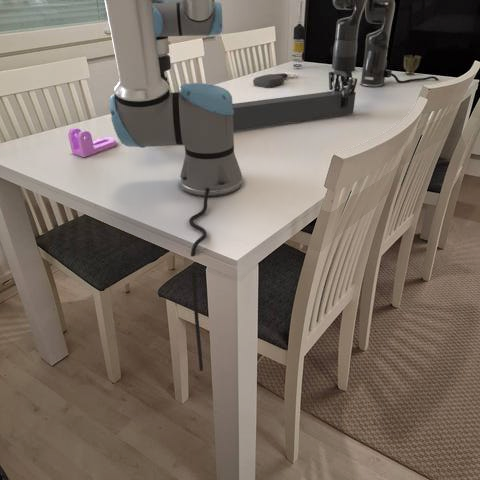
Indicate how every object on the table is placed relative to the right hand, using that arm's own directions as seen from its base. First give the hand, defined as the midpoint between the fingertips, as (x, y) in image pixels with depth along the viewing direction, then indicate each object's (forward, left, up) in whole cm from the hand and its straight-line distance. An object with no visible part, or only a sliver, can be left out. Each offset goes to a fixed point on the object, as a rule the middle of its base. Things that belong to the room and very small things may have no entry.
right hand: (339, 105), depth 156 cm
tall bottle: (-41, -70, -3) cm, 81 cm away
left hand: (+61, -13, -2) cm, 63 cm away
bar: (+31, -6, -3) cm, 32 cm away
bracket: (+81, -18, -3) cm, 83 cm away
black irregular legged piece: (-56, -53, -3) cm, 77 cm away
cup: (-73, -26, -3) cm, 77 cm away
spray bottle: (-15, -53, -3) cm, 56 cm away
